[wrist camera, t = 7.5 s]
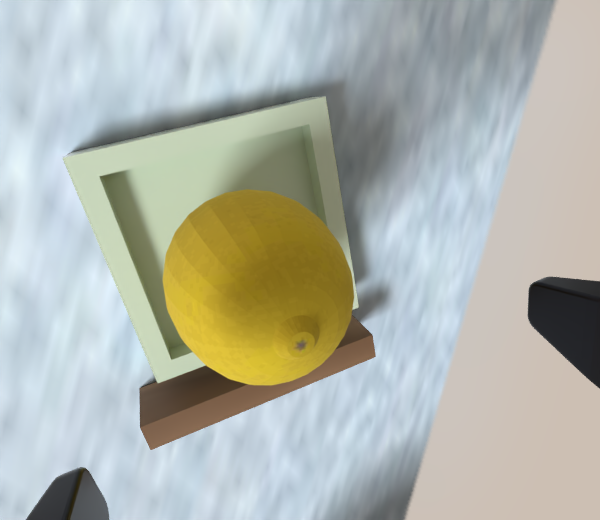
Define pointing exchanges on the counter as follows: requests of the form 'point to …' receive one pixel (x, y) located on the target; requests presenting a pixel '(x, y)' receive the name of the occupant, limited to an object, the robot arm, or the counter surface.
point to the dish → (198, 199)
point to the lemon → (258, 287)
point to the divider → (231, 392)
